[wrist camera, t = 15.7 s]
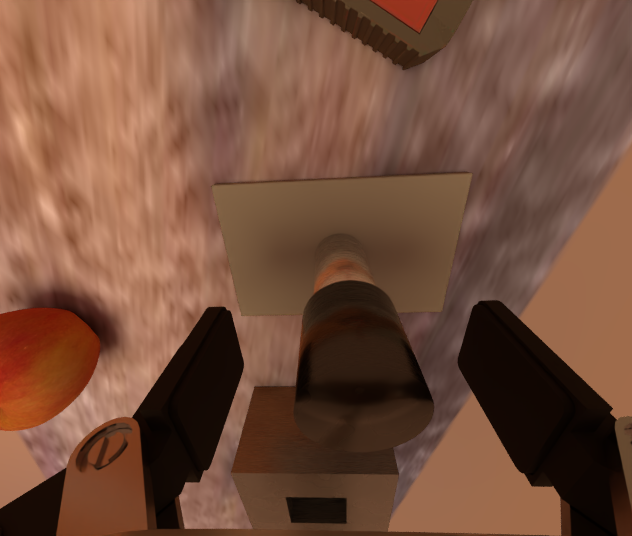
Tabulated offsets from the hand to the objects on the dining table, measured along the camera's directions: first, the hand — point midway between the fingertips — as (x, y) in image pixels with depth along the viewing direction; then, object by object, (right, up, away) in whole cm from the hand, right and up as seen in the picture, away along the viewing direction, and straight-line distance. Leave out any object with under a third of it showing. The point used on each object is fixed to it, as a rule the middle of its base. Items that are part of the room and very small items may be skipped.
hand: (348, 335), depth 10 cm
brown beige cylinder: (0, +3, +6) cm, 7 cm away
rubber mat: (0, +4, +7) cm, 8 cm away
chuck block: (-1, -13, +15) cm, 20 cm away
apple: (-20, -2, +11) cm, 23 cm away
